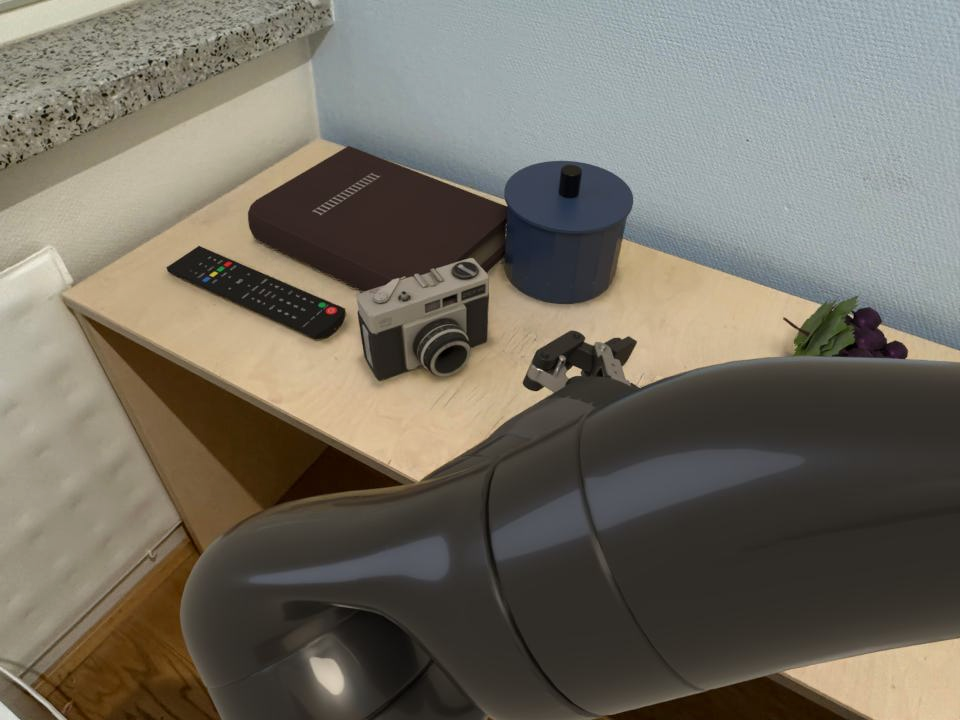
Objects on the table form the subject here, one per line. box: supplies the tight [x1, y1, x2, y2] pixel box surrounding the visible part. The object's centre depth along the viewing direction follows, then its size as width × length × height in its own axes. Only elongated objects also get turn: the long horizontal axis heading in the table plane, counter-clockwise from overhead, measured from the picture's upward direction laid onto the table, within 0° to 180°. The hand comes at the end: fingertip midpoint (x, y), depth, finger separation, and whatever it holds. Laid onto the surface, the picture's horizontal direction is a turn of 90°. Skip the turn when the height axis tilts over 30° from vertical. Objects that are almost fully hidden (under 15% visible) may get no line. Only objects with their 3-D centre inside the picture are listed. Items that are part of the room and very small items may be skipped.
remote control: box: [165, 245, 346, 341], centre depth 80 cm, size 5×24×1 cm, turn 60°
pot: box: [503, 205, 628, 305], centre depth 82 cm, size 14×14×10 cm
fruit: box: [782, 294, 909, 359], centre depth 69 cm, size 10×11×15 cm
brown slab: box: [247, 145, 507, 292], centre depth 86 cm, size 28×20×6 cm
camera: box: [356, 258, 490, 382], centre depth 70 cm, size 14×9×10 cm, turn 111°
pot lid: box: [503, 160, 634, 234], centre depth 77 cm, size 15×15×4 cm
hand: (678, 381), depth 47 cm, fingers open, 8 cm apart
